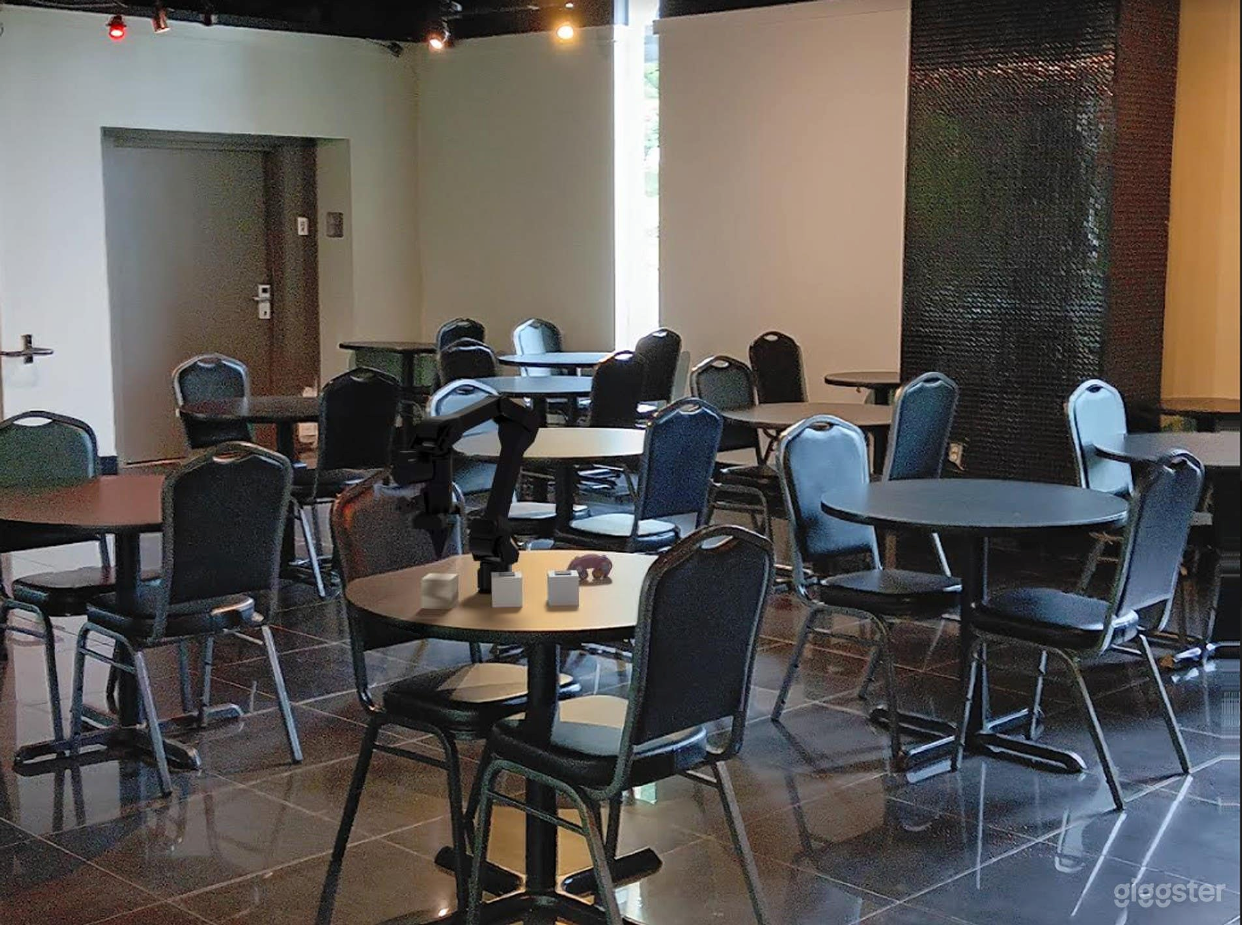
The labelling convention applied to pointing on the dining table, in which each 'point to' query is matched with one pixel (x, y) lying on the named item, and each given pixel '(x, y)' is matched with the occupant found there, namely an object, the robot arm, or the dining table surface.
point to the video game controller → (591, 566)
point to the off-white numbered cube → (507, 589)
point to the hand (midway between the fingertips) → (439, 557)
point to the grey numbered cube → (563, 587)
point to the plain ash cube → (439, 591)
